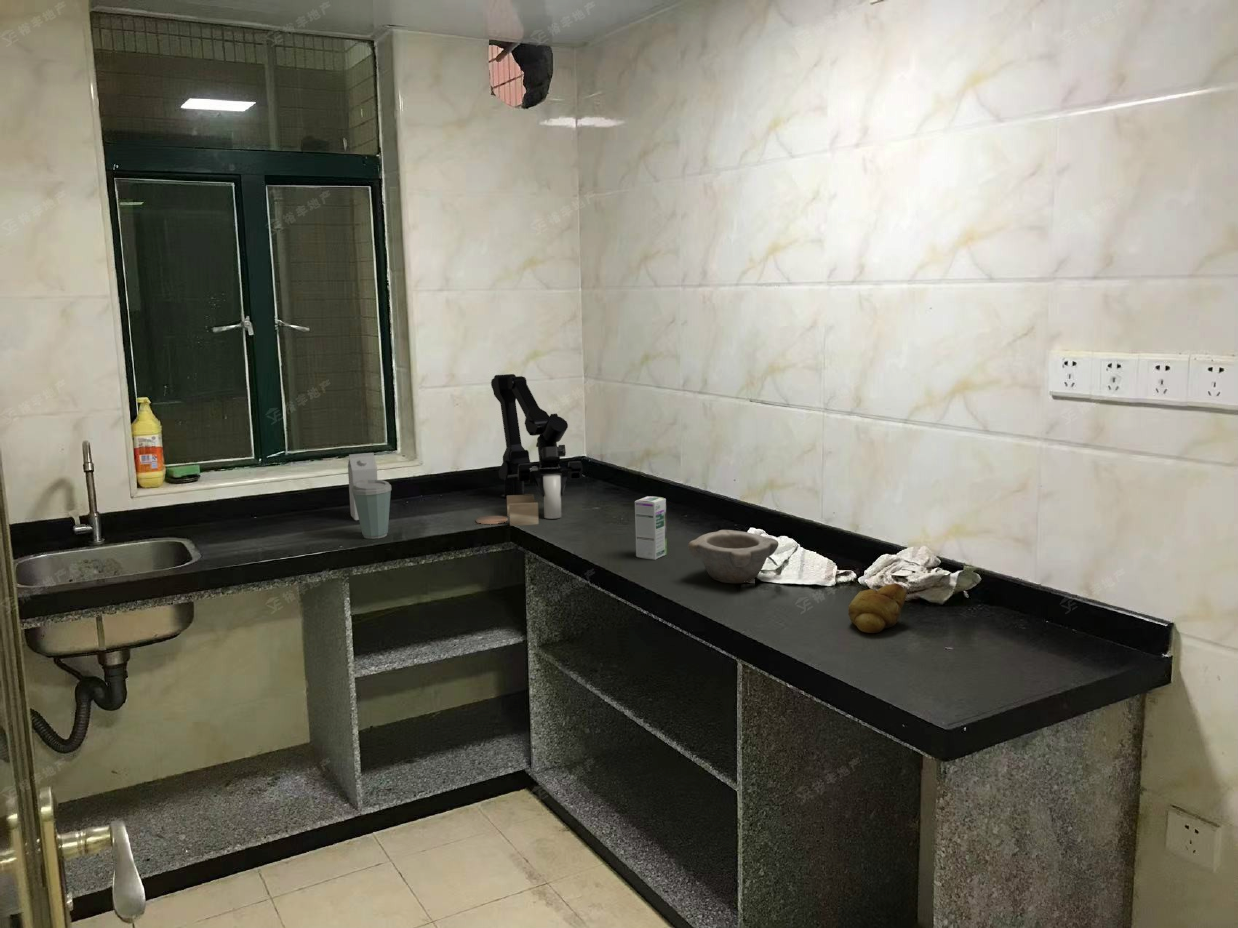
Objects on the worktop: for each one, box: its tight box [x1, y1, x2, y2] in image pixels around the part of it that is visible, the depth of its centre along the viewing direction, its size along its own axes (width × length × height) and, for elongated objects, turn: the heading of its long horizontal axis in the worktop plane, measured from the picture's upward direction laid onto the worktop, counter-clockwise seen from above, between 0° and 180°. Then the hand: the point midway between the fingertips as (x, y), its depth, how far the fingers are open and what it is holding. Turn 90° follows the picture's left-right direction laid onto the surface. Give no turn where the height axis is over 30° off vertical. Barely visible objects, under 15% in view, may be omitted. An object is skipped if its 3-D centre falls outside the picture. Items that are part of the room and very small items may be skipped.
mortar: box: [687, 529, 779, 584], centre depth 222 cm, size 17×17×9 cm
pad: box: [475, 515, 509, 526], centre depth 281 cm, size 9×9×1 cm
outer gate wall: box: [509, 502, 539, 526], centre depth 277 cm, size 2×8×6 cm, turn 100°
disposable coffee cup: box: [352, 478, 392, 540], centre depth 264 cm, size 11×11×15 cm
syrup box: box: [634, 495, 668, 561], centre depth 241 cm, size 6×6×14 cm
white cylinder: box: [542, 474, 562, 520], centre depth 283 cm, size 5×5×12 cm
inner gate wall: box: [506, 493, 536, 517], centre depth 288 cm, size 2×8×6 cm, turn 100°
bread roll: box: [847, 583, 907, 634], centre depth 189 cm, size 13×10×8 cm
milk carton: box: [347, 452, 378, 521], centre depth 287 cm, size 7×7×19 cm
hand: (552, 495), depth 282 cm, fingers closed on white cylinder, 5 cm apart
